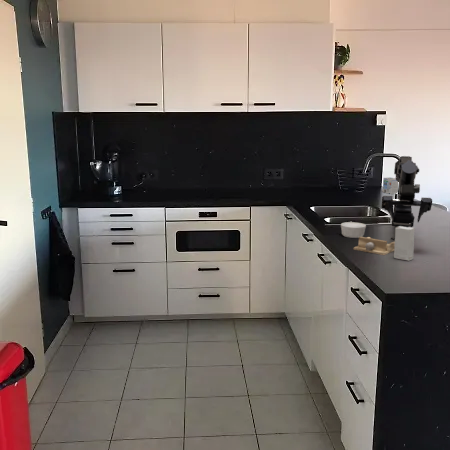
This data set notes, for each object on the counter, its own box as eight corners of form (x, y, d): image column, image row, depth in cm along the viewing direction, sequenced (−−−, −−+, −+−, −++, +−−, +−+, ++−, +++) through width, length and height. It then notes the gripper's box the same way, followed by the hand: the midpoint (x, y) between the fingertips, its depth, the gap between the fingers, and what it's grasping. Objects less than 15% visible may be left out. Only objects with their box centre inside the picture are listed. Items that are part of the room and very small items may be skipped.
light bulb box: (382, 192, 369) (383, 177, 366) (389, 191, 371) (391, 177, 368) (390, 194, 359) (392, 179, 356) (399, 194, 361) (400, 178, 358)
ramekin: (347, 239, 223) (348, 227, 222) (335, 233, 234) (336, 222, 233) (370, 237, 226) (371, 226, 225) (357, 232, 237) (358, 221, 235)
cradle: (369, 243, 215) (370, 232, 214) (398, 248, 207) (399, 237, 206) (353, 249, 205) (354, 237, 204) (383, 255, 197) (384, 243, 196)
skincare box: (413, 259, 192) (416, 227, 189) (408, 261, 188) (411, 229, 186) (397, 256, 196) (400, 225, 193) (392, 258, 193) (395, 227, 190)
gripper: (383, 175, 200) (381, 208, 193) (434, 177, 195) (434, 211, 188) (382, 191, 210) (380, 223, 202) (430, 194, 204) (430, 226, 197)
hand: (405, 221), depth 197 cm, fingers open, 9 cm apart
